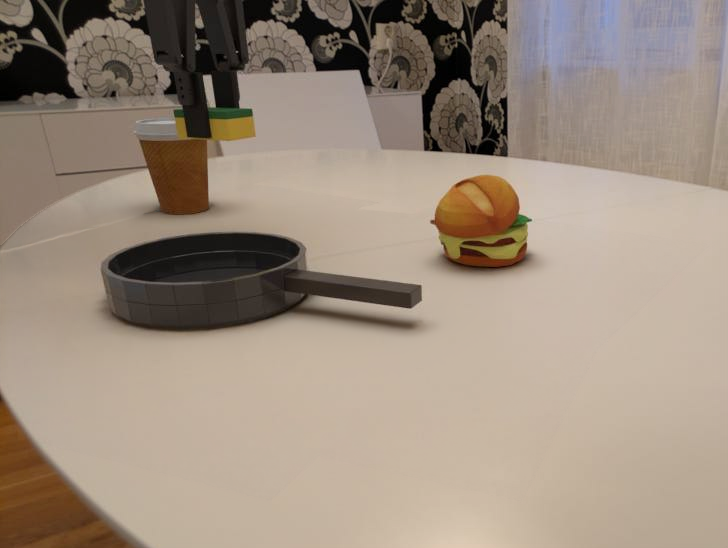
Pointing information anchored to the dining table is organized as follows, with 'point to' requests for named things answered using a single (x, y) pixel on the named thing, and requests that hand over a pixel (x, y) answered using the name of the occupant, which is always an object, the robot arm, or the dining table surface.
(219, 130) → the sponge
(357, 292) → the pan handle
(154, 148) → the disposable coffee cup
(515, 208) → the cheeseburger
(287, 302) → the pan
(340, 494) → the dining table surface
